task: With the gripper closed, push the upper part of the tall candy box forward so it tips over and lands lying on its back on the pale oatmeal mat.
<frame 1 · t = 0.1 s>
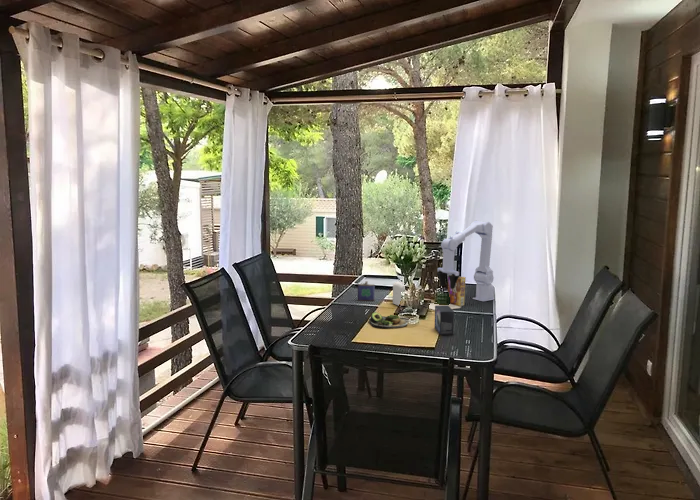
hand: (447, 287, 284), 10 cm above the table, tool pointing down, fingers open, 7 cm apart
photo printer: (399, 305, 285), on the table
candy box: (455, 304, 289), on the table
small box: (443, 331, 239), on the table
salad plate: (386, 324, 250), on the table
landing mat: (440, 306, 283), on the table
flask: (366, 300, 295), on the table
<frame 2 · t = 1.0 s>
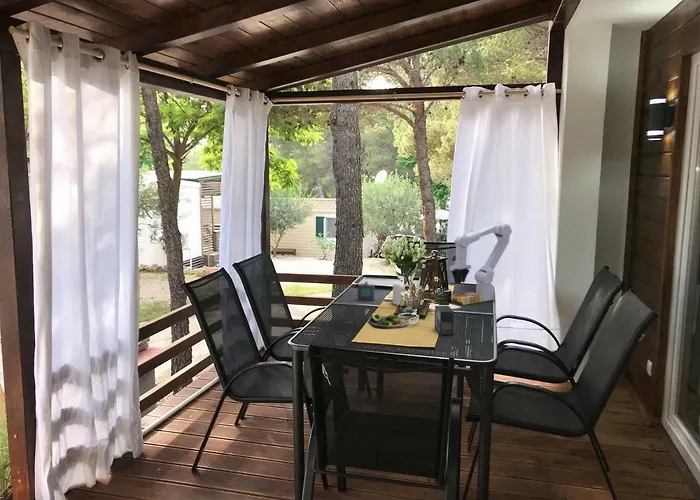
hand: (459, 282, 295), 10 cm above the table, tool pointing down, fingers open, 4 cm apart
candy box: (456, 300, 290), point 2 cm above the table
everything else where it was.
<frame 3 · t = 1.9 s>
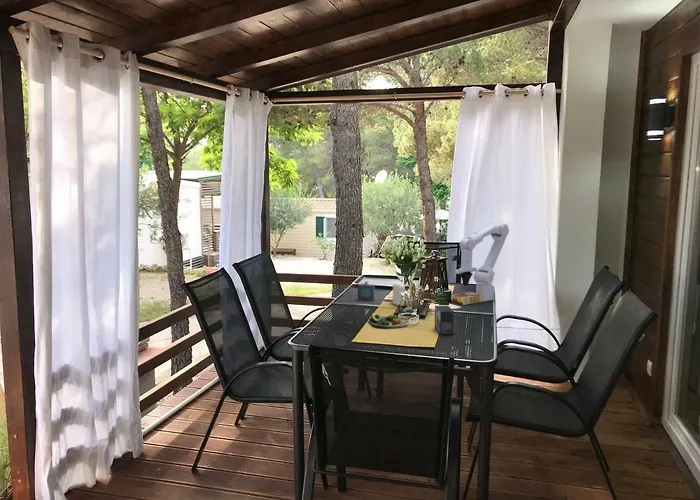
hand: (465, 285, 292), 9 cm above the table, tool pointing down, fingers closed
nothing on the table moved.
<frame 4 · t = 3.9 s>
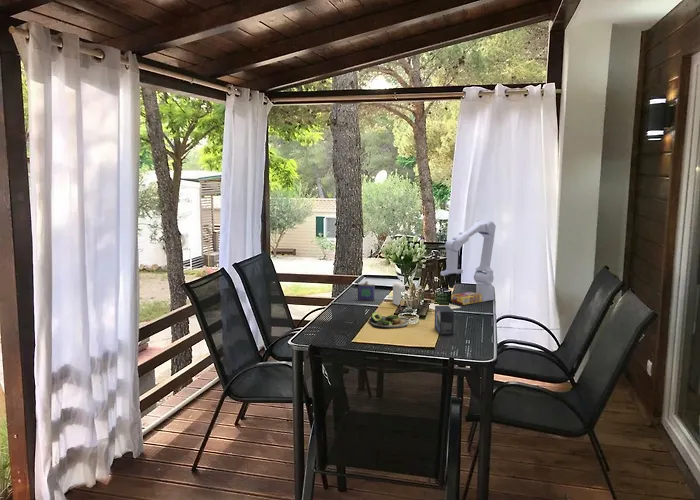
hand: (451, 287, 285), 9 cm above the table, tool pointing down, fingers closed
nothing on the table moved.
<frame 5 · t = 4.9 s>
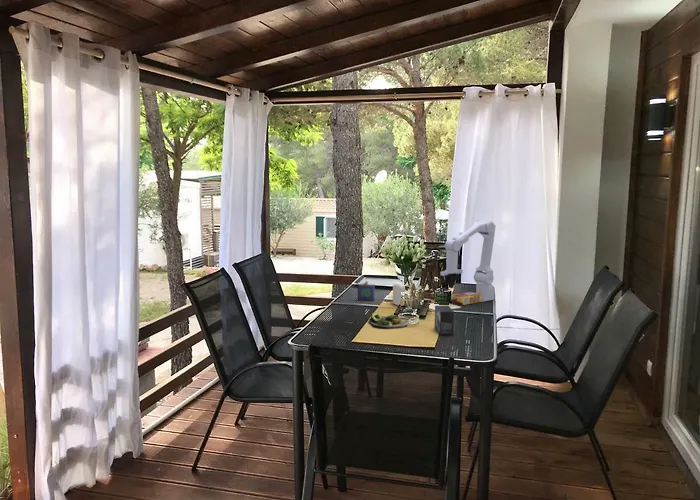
hand: (451, 287, 285), 9 cm above the table, tool pointing down, fingers closed
nothing on the table moved.
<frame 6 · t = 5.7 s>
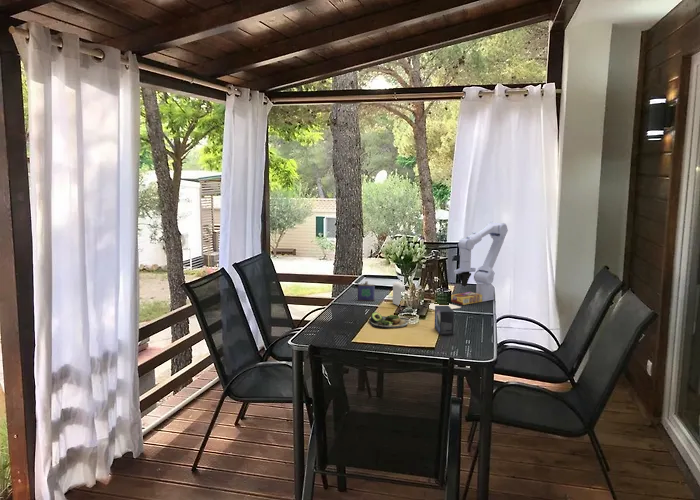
hand: (464, 285, 291), 9 cm above the table, tool pointing down, fingers closed
nothing on the table moved.
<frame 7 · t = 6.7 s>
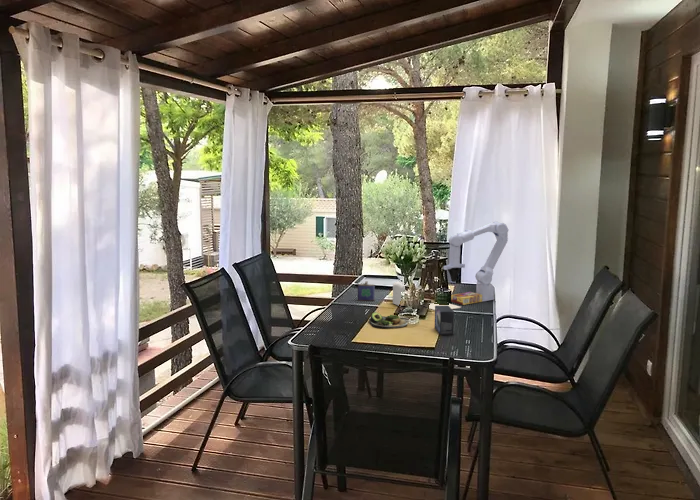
hand: (453, 281, 297), 10 cm above the table, tool pointing down, fingers closed
nothing on the table moved.
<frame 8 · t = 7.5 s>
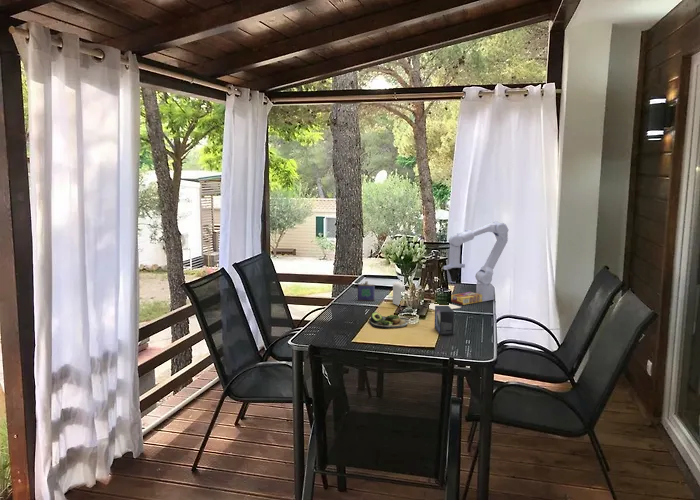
hand: (453, 281, 297), 10 cm above the table, tool pointing down, fingers closed
nothing on the table moved.
at the end: candy box tilted 89°; candy box inside the target area (5.1 cm from its centre), point 1.9 cm above the table; the gripper is holding nothing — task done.
